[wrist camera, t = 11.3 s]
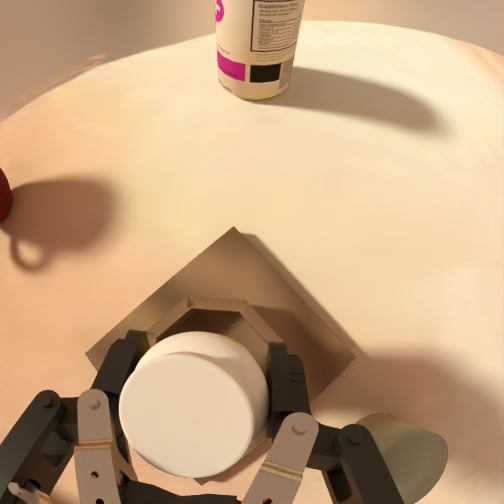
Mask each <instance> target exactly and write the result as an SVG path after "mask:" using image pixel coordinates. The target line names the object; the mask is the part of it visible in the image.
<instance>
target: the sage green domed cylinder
mask: <svg viewBox="0 0 504 504" xmlns="http://www.w3.org/2000/svg"><path fill="white" fill-rule="evenodd" d="M355 424H360V425H362V426H364V427H366V428H367V429H368V430H369V431H370V433H371V434H372V436H373V439H374V441H375V443H376V445H377V447H378V449H379V451H380V453H381V455H382V457H383V459H384V461H385V463H386V465H387V467H388V470H389V472H390V474H391V476H392V478H393V480H394V482H395V484H396V486H397V489H398V491H399V493H400V495H401V497H402V499H403V501H404V504H414V503H416V502H417V501H419V500H420V499H422V498H423V497H424V496H425V495H426V494H427V493H429V492H430V491H431V489H432V488H433V487H434V486H435V485H436V483H437V482H438V480H439V479H440V477H441V475H442V474H443V471H444V469H445V466H446V463H447V458H448V449H447V445H446V442H445V441H444V439H443V438H442V437H441V436H439V435H437V434H435V433H432V432H429V431H427V430H424V429H422V428H419V427H417V426H414V425H412V424H409V423H407V422H404V421H402V420H400V419H397V418H395V417H393V416H390V415H387V414H373V415H370V416H367V417H365V418H363V419H361V420H359V421H358V422H356V423H355Z"/></svg>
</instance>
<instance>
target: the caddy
mask: <svg viewBox="0 0 504 504" xmlns="http://www.w3.org/2000/svg"><path fill="white" fill-rule="evenodd" d="M129 329H134V330H141V331H146V333H147V336H148V341H149V345H150V349H151V348H152V347H153V346H154V345H156V344H157V343H158V342H160V341H162V340H163V339H165V338H168V337H170V336H173V335H176V334H180V333H185V332H197V331H200V332H209V333H215V334H220V335H224V336H228V337H230V338H232V339H234V340H236V341H238V342H239V343H241V344H242V345H243V346H244V347H245V348H246V349H247V350H248V351H249V352H250V354H251V355H252V356H253V358H254V359H255V361H256V362H257V364H258V365H259V366H260V368H261V370H262V372H263V374H264V376H265V363H266V357H267V351H268V344H269V342H286V345H287V353H288V354H297V355H298V356H299V358H300V359H301V361H302V362H303V365H304V371H305V378H306V384H307V391H308V398H309V403H310V402H311V401H312V400H313V399H314V398H315V397H317V396H318V395H319V394H320V393H321V392H322V391H323V390H324V389H325V388H326V387H327V386H328V385H329V384H330V383H331V382H332V381H333V380H334V379H335V378H336V377H337V376H338V375H339V374H340V373H341V372H342V371H343V370H344V369H345V368H346V367H347V366H348V365H349V364H350V363H351V362H352V360H353V359H354V358H355V356H354V355H353V354H352V353H351V352H350V351H349V349H348V348H347V347H346V346H345V345H344V344H343V343H342V342H341V341H340V340H339V339H338V338H337V337H336V335H335V334H334V333H333V332H332V331H331V330H330V329H329V328H328V327H327V326H326V325H325V324H324V323H323V321H322V320H321V319H320V318H319V317H318V316H317V315H316V314H315V313H314V312H313V311H312V310H311V309H310V307H309V306H308V305H307V304H306V303H305V302H304V301H303V300H302V299H301V298H300V297H299V296H298V295H297V293H296V292H295V291H294V290H293V289H292V288H291V287H290V286H289V285H288V284H287V283H286V282H285V281H284V279H283V278H282V277H281V276H280V275H279V274H278V273H277V272H276V271H275V270H274V269H273V268H272V267H271V266H270V264H269V263H268V262H267V261H266V260H265V259H264V258H263V257H262V256H261V255H260V254H259V253H258V252H257V251H256V249H255V248H254V247H253V246H252V245H251V244H250V243H249V242H248V241H247V240H246V239H245V238H244V237H243V236H242V235H241V233H240V232H239V231H238V230H237V229H236V228H235V227H234V226H233V227H232V228H231V229H230V230H228V231H227V232H226V233H225V234H224V235H222V236H221V237H220V238H219V239H217V240H216V241H215V242H214V243H213V244H211V245H210V246H209V247H208V248H206V249H205V250H204V251H203V252H202V253H200V254H199V255H198V256H197V257H196V258H194V259H193V260H192V261H191V262H190V263H188V264H187V265H186V266H185V267H184V268H182V269H181V270H180V271H179V272H178V273H177V274H175V275H174V276H173V277H172V278H171V279H169V280H168V281H167V282H166V283H165V284H164V285H162V286H161V287H160V288H159V289H158V290H157V291H155V292H154V293H153V294H152V295H151V296H150V297H148V298H147V299H146V300H145V301H144V302H143V303H141V304H140V305H139V306H138V307H137V308H136V309H135V310H133V311H132V312H131V313H130V314H129V315H128V316H127V317H125V318H124V319H123V320H122V321H121V322H120V323H119V324H117V325H116V326H115V327H114V328H113V329H112V330H111V331H110V332H108V333H107V334H106V335H105V336H104V337H103V338H102V339H101V340H99V341H98V342H97V343H96V344H95V345H94V346H93V347H92V348H91V349H90V350H88V351H87V352H86V353H85V354H86V356H87V357H88V359H89V360H90V362H91V363H92V365H93V366H94V367H95V369H96V370H97V372H98V371H99V369H100V367H101V365H102V363H103V361H104V358H105V356H107V352H108V350H109V348H110V346H111V345H112V344H113V343H114V342H115V341H116V340H117V339H118V338H120V339H125V337H126V334H127V332H128V330H129ZM267 439H268V438H266V423H265V426H264V428H263V430H262V431H261V433H260V434H259V436H258V437H257V438H256V440H255V441H254V442H253V443H252V444H251V445H250V446H249V447H248V449H247V450H246V452H245V454H244V455H243V456H242V457H241V458H240V459H242V458H243V457H244V456H246V455H247V454H249V453H250V452H251V451H253V450H254V449H255V448H256V447H258V446H259V445H260V444H262V443H263V442H264V441H266V440H267ZM240 459H239V460H240ZM239 460H238V461H239ZM238 461H237V462H238ZM221 473H222V472H221ZM219 474H220V473H218V474H215V475H212V476H208V477H201V478H193V479H194V480H195V481H197V482H198V483H199V484H200V485H203V484H205V483H206V482H208V481H209V480H211V479H213V478H214V477H216V476H217V475H219Z"/></svg>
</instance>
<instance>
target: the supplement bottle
mask: <svg viewBox="0 0 504 504" xmlns="http://www.w3.org/2000/svg"><path fill="white" fill-rule="evenodd" d="M269 403H270V399H269V390H268V386H267V382H266V379H265V376H264V374H263V372H262V370H261V368H260V366H259V365H258V364H257V362H256V361H255V359H254V358H253V356H252V355H251V354H250V352H249V351H248V350H247V349H246V348H245V347H244V346H243V345H242V344H241V343H239V342H238V341H236V340H234V339H232V338H230V337H228V336H224V335H220V334H215V333H209V332H200V331H197V332H185V333H180V334H176V335H173V336H170V337H168V338H165V339H163V340H162V341H160V342H158V343H157V344H156V345H154V346H153V347H152V348H151V349H149V350H148V351H147V353H146V354H145V355H144V356H143V357H142V358H141V360H140V361H139V363H138V364H137V366H136V368H135V371H134V372H133V373H132V374H131V375H130V377H129V378H128V380H127V381H126V383H125V385H124V387H123V390H122V392H121V396H120V401H119V417H120V422H121V426H122V429H123V431H124V434H125V436H126V438H127V440H128V441H129V443H130V444H131V446H132V447H133V449H134V450H135V451H136V452H137V453H138V454H139V455H140V456H141V457H142V458H143V459H144V460H145V461H147V462H148V463H149V464H151V465H152V466H154V467H155V468H157V469H159V470H161V471H164V472H166V473H169V474H172V475H175V476H179V477H186V478H201V477H208V476H212V475H215V474H218V473H221V472H223V471H225V470H227V469H228V468H230V467H231V466H233V465H234V464H235V463H236V462H237V461H238V460H239V459H240V458H241V457H242V456H243V455H244V454H245V452H246V450H247V449H248V447H249V446H250V445H251V444H252V443H253V442H254V441H255V440H256V438H257V437H258V436H259V434H260V433H261V431H262V430H263V428H264V426H265V423H266V420H267V417H268V413H269Z"/></svg>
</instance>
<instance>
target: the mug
mask: <svg viewBox="0 0 504 504" xmlns="http://www.w3.org/2000/svg"><path fill="white" fill-rule="evenodd" d="M11 206H12V194H11V190H10V186H9V183H8V180H7V178H6V176H5V174H4V172H3V171H2V169H1V168H0V222H1V221H3V220H4V219H5V218H6V216H7V215H8V213H9V211H10V209H11Z"/></svg>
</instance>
